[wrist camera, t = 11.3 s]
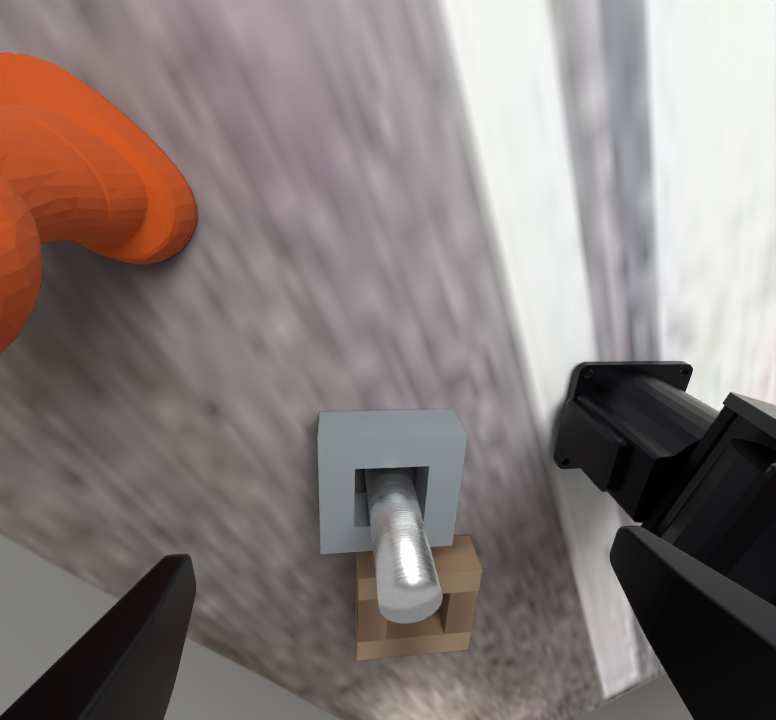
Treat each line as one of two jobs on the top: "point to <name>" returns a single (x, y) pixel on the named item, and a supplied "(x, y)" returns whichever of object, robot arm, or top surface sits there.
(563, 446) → the robot arm
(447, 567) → the socket block
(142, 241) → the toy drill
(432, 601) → the silver metal rod
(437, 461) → the gray square ring
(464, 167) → the top surface
